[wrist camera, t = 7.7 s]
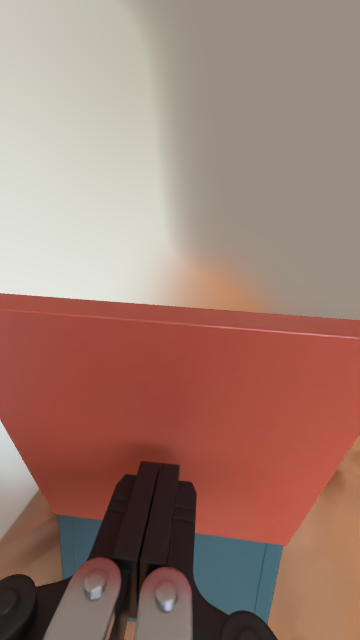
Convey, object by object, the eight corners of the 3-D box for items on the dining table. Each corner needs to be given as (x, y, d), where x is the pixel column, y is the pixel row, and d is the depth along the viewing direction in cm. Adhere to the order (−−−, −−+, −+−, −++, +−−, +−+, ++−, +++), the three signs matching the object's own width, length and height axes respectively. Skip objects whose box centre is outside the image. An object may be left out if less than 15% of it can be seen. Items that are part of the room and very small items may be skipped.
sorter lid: (-46, 289, 10) (-68, 303, 9) (403, 322, 8) (421, 342, 8) (59, 498, 18) (53, 514, 18) (283, 527, 17) (286, 546, 17)
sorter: (123, 461, 35) (123, 394, 32) (241, 475, 33) (250, 407, 31) (64, 610, 21) (57, 512, 18) (263, 643, 20) (283, 543, 17)
